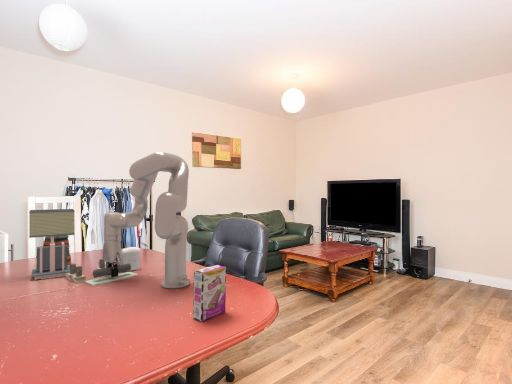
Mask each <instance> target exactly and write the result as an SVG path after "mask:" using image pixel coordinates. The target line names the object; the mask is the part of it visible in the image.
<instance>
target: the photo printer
mask: <svg viewBox="0 0 512 384" xmlns="http://www.w3.org/2000/svg"><path fill="white" fill-rule="evenodd" d="M121 254H122V255H121V264H120V265H123V264H128V263H129V264H130V265H131V270H130V271H129V272H132V271H138V270H140V269H141V248H140V247H135V246H129V247H125V248H122V249H121ZM126 272H127V271H125V272H124V273H126Z"/></svg>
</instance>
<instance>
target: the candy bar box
mask: <svg viewBox="0 0 512 384" xmlns="http://www.w3.org/2000/svg"><path fill="white" fill-rule="evenodd" d="M226 286H227V267H226V266H223V265H219V264H216V265H212V266H207V267H203V268H199V269H195V270H193V297H192V298H193V300H192V301H193V305H192V319H194V320H197V321H198V322H201V323H202V322H205V321H207V320H210V319H212V318H214V317H217V316H219V315H222V314H225V313H226V299H227V298H226V295H227V294H226V293H227V292H226V290H227V287H226Z"/></svg>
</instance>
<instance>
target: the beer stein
mask: <svg viewBox="0 0 512 384" xmlns="http://www.w3.org/2000/svg"><path fill="white" fill-rule="evenodd" d="M69 238H70V235H65V236H54V243H55V246H56V245H62V242H64V245H67V266H68V265H70V264H72V257H71V256H72V255H71V253H70V246H71V245H70V240H69ZM50 243H51V236H49V237H44V241H43V243H42V244H43V247H44V246H50Z"/></svg>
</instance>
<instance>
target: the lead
mask: <svg viewBox="0 0 512 384" xmlns="http://www.w3.org/2000/svg"><path fill="white" fill-rule="evenodd" d="M111 269H112V267H107V268H102V269H97V270H96V269H93V270H92V277H93V278H94V279H98V278H103V277H106V275H111ZM130 270H131V265H130V264H129V263H128V264H123V265H119V268H118V274H121V273H126V272H131V271H130ZM125 271H126V272H125Z"/></svg>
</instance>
